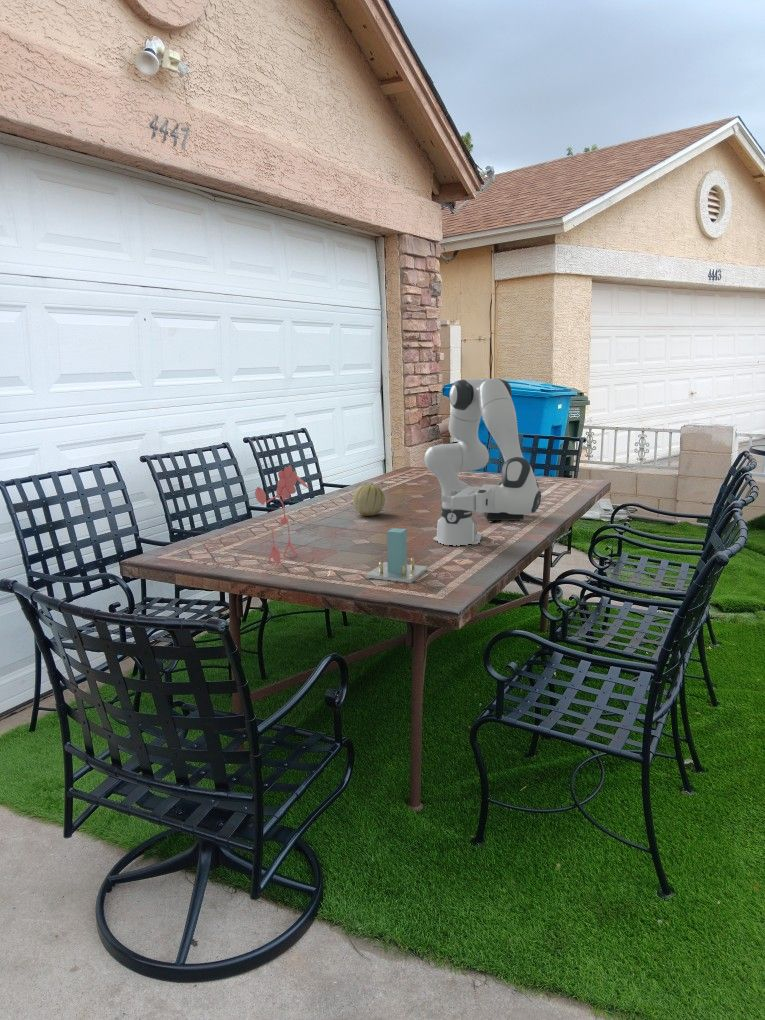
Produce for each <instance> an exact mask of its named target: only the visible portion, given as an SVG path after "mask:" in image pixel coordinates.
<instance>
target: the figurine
mask: <svg viewBox="0 0 765 1020" xmlns="http://www.w3.org/2000/svg"><path fill="white" fill-rule="evenodd" d="M277 476H278V479H279V480H278V481H277V484H276V486H277V488H276V494H275V496H274V497H271V498H270V499H268V500H267V494H266V492H265V491H264V489H263V488H261V487H260V486H257V487H256V488H255V492H254V496H255V499H256V501H257V502H258V503H259V504H261V505H262V506H264V505H265V504H268V503H269V502H271V501H273V500H274V499H276V498H278V500H279V502H280V504H281V505H282V509H283V510H282V511H283V516H282V517H281V518H280V520H279V522H280V523H279V524H278V525H277V526H275V527H274V528H273V529H271V535H272V543H273V544H272V546H271V547H270V556H269V558H268V560H267V562H268V563H269V562H271V559H273V561H275V563H276V564H277V565H278V566H279V565H280V563H281V556H283V557H284V556H285V555H286V553H287V551H288V550H289V548H290V550H291V551H292V552H293V553H294V554H295V555H296V556H299V554H298V552H297V551H296V549H295V547H294V546H293V544H292V542H291V536H290V528H289V526H290V525H289V523H288V522H289V519H288V518H287V517H286V510H285V504H284V502H283V501H286V499H287V500H290V498H291V494H292V495H293V494H295V493H297V488H296V487H295V486H296V483H297V482H299V483H300V484H301V485H302V486H303V487H305V488H306V489H309V488H310V487H309V486H308V484H307V483H306V482H305V481H304V480H303V479H302V478H301V477H300V476H298V475H297V471H296V470H294V471H293V467H292V465H291V464H289V465H288V466H285V467H284V468H283V470H279V471H278V472H277ZM280 497H281V498H282V499H281V498H280ZM281 525H287V533H288V534H287V536H288V540H287V541H286V542H287V546H286V548H285V549H284V550H285V551H284V553H283V555H281V553H280V550H279V549H278V548H277V546H276V545H275V537H274V530H276V529H277V528H278V527H280V526H281ZM311 556H313V557H314V555H312V554H311ZM313 560H314V559H312V560H311V561H309V562H306V563H303V564H302V566H305V565H306V564H310V563H312V561H313ZM256 565H257V566H260V565H259V564H256ZM300 565H301V564H299V565H298V567H299V566H300Z"/></svg>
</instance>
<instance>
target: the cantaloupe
mask: <svg viewBox="0 0 765 1020" xmlns="http://www.w3.org/2000/svg"><path fill="white" fill-rule="evenodd" d="M385 502H386V496H385V493H384V492H383V490H382V489H381V488H380V487H379V486H377V485H375V484H374V483H373V482H370V483H366V484H365V483H364V484H362V485H360V486H358V487H357V489H356V490H355V492H354V494H353V496H352V504H353V507H354V509H355V511H356V512H358V514H360V515H362V516H365V517H371V516H375V515H378V514H379V513H381V511H383V509H384V506H385Z"/></svg>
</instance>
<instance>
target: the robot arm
mask: <svg viewBox="0 0 765 1020" xmlns="http://www.w3.org/2000/svg"><path fill="white" fill-rule="evenodd" d="M512 392H513V391H512V387H511V385H510V383H509V382H508V381H507V380H504V379H500V378H482V377H481V378H476V379H460V380H456V381H454V382H453V383H452V385H450V390H449V401H450V402H449V403H450V404H451V406H452V408H451V412H450V416H449V422H448V427H447V428H448V432H449V434H450V435H451V436H452V437H453V438H454V439H456V440H457V441H458V442H455V443H442V444H441V443H440V444H437V445H432V446H430V447H428V448H427V449H426V451H425V453H424V457H423V461H424V464H425V465H424V466H425V467H426V469H427V470H428V471H429V472H431V473H432V474H434V476H435V477H436V478H437V480H438V482H439V484H440V488H441V489H440V490H441V497H440V501H441V502H442V503H441V507H440V516H441V517H440V518H439V519H437V524H436V525H437V526H436V535H435V536H434V537H433V540H432V541H436V542H437V541H438V543H439V544H440V543H441V544H440V545H443V544H444V545H445V546H449V545H453V546H452V547H461V546H460V545H466V546H469V545H468V544H472V545H479V544H478V543H481V541H480V540H482V538H481V537H483V532H480V531H477V526H478V525H477V521H476V520H475V518H474V517H473V512H475V513H476V514H484V513H485V512H487V513H500V512H505V513H508V514H524V515H531V514H534V513H536V512H537V511H538V509H539V507H540V505H541V502H542V501H541V500H542V499H541V498H542V491H541V490H540V488H539V487H540V485H539V483H538V481H537V478H536V477H535V473H534V471H533V468H532V466H531V464H530V462H529V461H528V460H527V459H526V458H525V457H524V455H523V453H522V449H521V446H520V438H519V431H518V420H517V412H516V407H515V404H514V401H513V399H512V395H513V393H512ZM481 418H482V420H483V423H484V425H485V427H486V428H487V429H486V430H488V433H489V434H490V435H491V437H492V438H493V440H494V442H495V444H496V445H497V447H498V449H499V450H500V453H501V455H502V457H503V461H504V463H503V465H502V466H501V482H502V484H501V485H499V484H486V483H484V484H483V485H482V486H476V485H475V486H474V485H472V486H471V485H469V484H468V483H466V482H465V481H464V480H461V479H459V477H458V473H460V472H461V473H462V472H473V471H476V470H480V469H483V468H485V467H486V466H487V465H488V462H489V459H490V454H489V450H488V448H487V446H486V445H484V444H483V443H482V442H481V440H480V438H479V427H480V422H481ZM456 545H457V546H456Z"/></svg>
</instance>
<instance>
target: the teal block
mask: <svg viewBox="0 0 765 1020" xmlns="http://www.w3.org/2000/svg"><path fill="white" fill-rule="evenodd" d="M407 536H408V534H407V528H397V527H396V528H395V527H392V528H390V529H389V530H387V532H386V539H387V540H386V544H387V545H386V546H387V549H386V551H387V557H386V558H387V562H388V572H395V573H402V565H406V569H407V564H408V562H407V561H408V557H407V554H408V553H407V551H408V550H407V546H408V545H407Z"/></svg>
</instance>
